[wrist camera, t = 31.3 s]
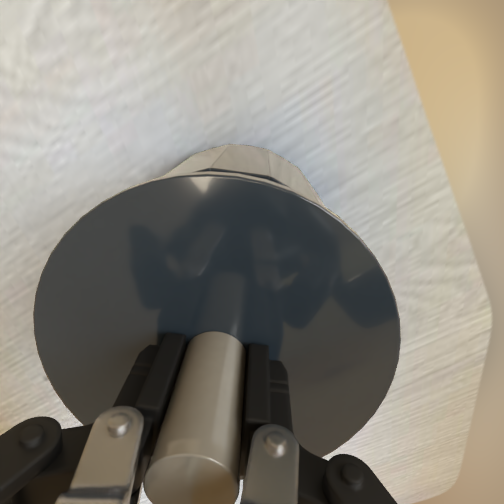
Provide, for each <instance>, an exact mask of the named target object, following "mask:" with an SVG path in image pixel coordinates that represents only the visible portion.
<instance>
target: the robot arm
mask: <svg viewBox="0 0 504 504" xmlns="http://www.w3.org/2000/svg"><path fill="white" fill-rule="evenodd" d="M185 347H186V335H183V334H175V333H166V334H165V336H164V339H163V341H162V343H161V346H158V345H151V344H150V345H148V346H147V347H146V348H145V349H143V350H142V351H141V352H140V353H139V355H138V357H137V359H136V361H135V363H134V365H133V367H132V369H131V371H130V374H129V375H128V377H127V379H126V381H125V383H124V385H123V387H122V389H121V391H120V393H119V395H118V397H117V399H116V401H115V403H114V405H113V407H112V408H110V409H108V410H106V411H104V412H103V413H102V414H100V415H99V416H98V417H97V419H96V420H95V422H94V423H92V424H88V425H85V426H80V427H73V428H67V429H61V426H60V424H59V422H58V421H57V420H55V419H53V418H50V417H34V418H30V419H28V420H25V421H23V422H21V423H19V424H17V425H16V426H14V427H13V428H11V429H10V430H8V431H7V432H5V433H4V434H2V435H1V436H0V504H139V502H140V497H141V492H142V484H143V478H144V474H145V471H146V468H147V465H148V462H149V459H150V456H151V453H152V450H153V446H154V443H155V440H156V437H157V434H158V431H159V428H160V425H161V422H162V419H163V416H164V413H165V409H166V406H167V403H168V400H169V397H170V394H171V391H172V388H173V385H174V381H175V378H176V375H177V372H178V369H179V366H180V363H181V360H182V357H183V354H184V350H185ZM288 383H289V382H288V372H287V370H286V368H285V367H284V365H283V364H282V362H281V361H275V360H269V346H267V345H260V344H252V343H250V344H249V349H248V355H247V370H246V386H245V401H244V417H243V433H242V454H241V470H240V476H243V491H242V496H241V502H240V504H397V503H396V501H395V500H394V499H393V497H392V496H391V495H390V494H389V492H388V491H387V490H386V488H385V487H384V486H383V484H382V483H381V482H380V481H379V479H378V478H377V477H376V475H375V474H374V473H373V472H372V470H371V469H370V468H369V467H368V465H366V464H365V463H364V462H363V461H362V460H360V459H358V458H357V457H354V456H352V455H348V454H339V455H335V456H333V457H332V458H331V459H330V460H329V461H328V460H325V459H323V458H321V457H318V456H316V455H314V454H312V453H310V452H309V451H307V450H306V449H305V448H303V447H302V446H301V445H300V444H299V442H298V441H297V438H296V437H295V435H294V432H293V426H292V415H291V404H290V394H289V385H288Z"/></svg>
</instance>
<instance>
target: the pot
mask: <svg viewBox="0 0 504 504" xmlns="http://www.w3.org/2000/svg"><path fill="white" fill-rule="evenodd" d="M207 171H212V172H226V173H239V174H243V175H248V176H253V177H258V178H263V179H267V180H270V181H272V182H275V183H278V184H281V185H284V186H287V187H290V188H292V189H294V190H296V191H298V192H300V193H302V194H304V195H306V196H308V197H310V198H312V199H314V200H316V201H317V202H319V203H320V204H322V205H323V206H325V205H324V204H323V202H322V201H321V199H320V197H319V196H318V194H317V193H316V192H315V190H314V189H313V187H312V186H311V184H310V183H309V181H308V180H307V179H306V177H305V176H304V174H303V173H302V172H301V170H300V169H299V168H298V167H296V166H295V165H293V164H291V163H290V162H289V161H287V160H286V159H284V158H283V157H281V156H279V155H277V154H275V153H273V152H272V151H270V150H267V149H264V148H259V147H254V146H249V145H236V144H228V145H224V146H220V147H215V148H212V149H209V150H206V151H202V152H199V153H195V154H194V155H192V156H191V157H189V158H188V159H187V160H185V161H184V162H182V163H181V164H179V165H178V166H177V167H175V168H174V169H172V170H171V171H170V172H168V173H167V174H165V175H164V176H169V175H174V174H179V173H190V172H207ZM164 176H162V177H164Z"/></svg>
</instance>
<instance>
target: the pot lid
mask: <svg viewBox="0 0 504 504" xmlns="http://www.w3.org/2000/svg"><path fill="white" fill-rule="evenodd" d="M33 315H34V335H35V340H36V345H37V350H38V354H39V357H40V360H41V362H42V365H43V368H44V371H45V373H46V375H47V377H48V379H49V381H50V383H51V385H52V386H53V388H54V390H55V391H56V393H57V394H58V396H59V397H60V399H61V400H62V402H63V403H64V404H65V406H66V407H67V408H68V409H69V410H70V411H71V413H72V414H73V415H74V416H75V417H76V418H77V419H78V420H79V421H80V422H81V423H82V424H83V425H84V426H85V425H88V424H92V423H94V422H95V420H96V419H97V417H98V416H99V415H100V414H102V413H103V412H104V411H106V410H108V409H110V408H112V407H113V405H114V403H115V401H116V399H117V397H118V395H119V393H120V391H121V389H122V387H123V385H124V383H125V381H126V379H127V377H128V375H129V374H130V371H131V369H132V367H133V365H134V363H135V361H136V359H137V357H138V355H139V353H140V352H141V351H142V350H143V349H145V348H146V347H147V346H148V345H150V344H151V345H158V346H161V343H162V341H163V339H164V336H165V334H166V333H175V334H183V335H186V347H185V350H184V354H183V357H182V360H181V363H180V366H179V369H178V372H177V375H176V378H175V381H174V385H173V388H172V391H171V394H170V397H169V400H168V403H167V406H166V409H165V413H164V416H163V419H162V422H161V425H160V428H159V431H158V434H157V437H156V440H155V443H154V446H153V450H152V453H151V456H150V459H149V462H148V465H147V468H146V471H145V474H144V478H143V487H144V491H145V493H146V496H147V497H148V499H149V500H150V501H151V502H152V503H153V504H234V503H235V502H236V500H237V498H238V495H239V486H240V480H242V479H243V476H240V470H241V454H242V433H243V417H244V401H245V386H246V370H247V355H248V349H249V344H250V343H252V344H260V345H267V346H269V360H275V361H281V362H282V364H283V365H284V367H285V368H286V370H287V372H288V382H289V383H288V385H289V394H290V404H291V415H292V426H293V432H294V435H295V437H296V438H297V441H298V442H299V444H300V445H301V446H302V447H303V448H305V449H306V450H307V451H309V452H310V453H312V454H314V455H316V456H318V457H321V458H322V457H324V456H325V455H327V454H329V453H331V452H333V451H334V450H336V449H337V448H338V447H340V446H341V445H343V444H344V443H345V442H347V441H348V440H349V439H351V438H352V437H353V436H354V435H355V434H356V433H357V432H358V431H359V430H360V429H362V428H363V427H364V425H365V424H366V423H367V422H368V421H369V419H370V418H371V417H372V416H373V415H374V414H375V412H376V411H377V409H378V408H379V406H380V404H381V403H382V401H383V400H384V398H385V396H386V394H387V392H388V390H389V388H390V385H391V383H392V381H393V378H394V375H395V371H396V368H397V364H398V360H399V351H400V342H401V334H400V318H399V313H398V308H397V304H396V299H395V296H394V294H393V291H392V288H391V286H390V283H389V281H388V278H387V276H386V274H385V273H384V271H383V269H382V267H381V266H380V264H379V262H378V261H377V259H376V257H375V256H374V254H373V253H372V252H371V250H370V249H369V248H368V247H367V245H366V244H365V243H364V242H363V240H362V239H361V238H360V237H359V236H358V234H357V233H356V232H355V231H354V230H353V229H352V228H351V227H349V226H348V225H347V224H346V223H345V222H344V221H343V220H342V219H341V218H340V217H339V216H338V215H336V214H335V213H333V212H332V211H330V210H329V209H327V208H326V207H325V206H323V205H322V204H320V203H319V202H317V201H316V200H314V199H312V198H310V197H308V196H306V195H304V194H302V193H300V192H298V191H296V190H294V189H292V188H290V187H287V186H284V185H281V184H278V183H275V182H272V181H270V180H267V179H263V178H258V177H253V176H248V175H243V174H239V173H226V172H212V171H207V172H190V173H179V174H174V175H169V176H164V177H159V178H155V179H152V180H149V181H146V182H143V183H140V184H137V185H135V186H132V187H129V188H127V189H125V190H124V191H122V192H120V193H118V194H116V195H114V196H112V197H110V198H108V199H106V200H105V201H103V202H101V203H100V204H99V205H97V206H96V207H95V208H93V209H92V210H91V211H89V212H88V213H86V214H85V215H84V216H82V217H81V218H80V219H79V220H78V221H77V222H76V223H75V224H74V225H73V226H72V227H71V228H70V229H69V230H68V231H67V232H66V233H65V234H64V236H63V237H62V239H61V240H60V241H59V243H58V244H57V246H56V247H55V248H54V250H53V251H52V253H51V255H50V257H49V259H48V261H47V263H46V265H45V267H44V269H43V271H42V274H41V277H40V281H39V284H38V288H37V291H36V296H35V305H34V313H33Z"/></svg>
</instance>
